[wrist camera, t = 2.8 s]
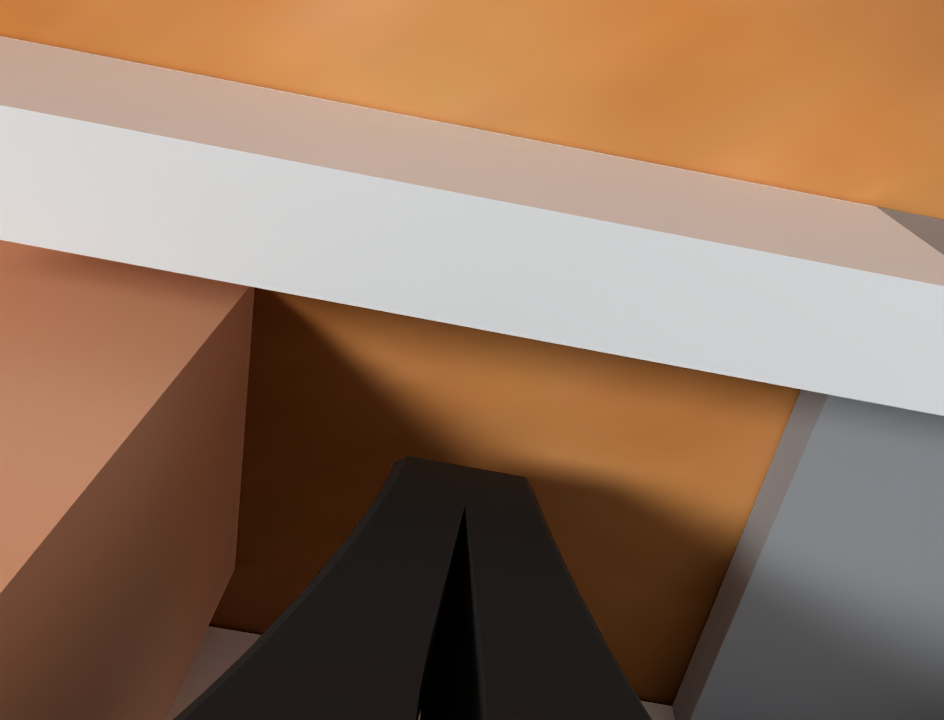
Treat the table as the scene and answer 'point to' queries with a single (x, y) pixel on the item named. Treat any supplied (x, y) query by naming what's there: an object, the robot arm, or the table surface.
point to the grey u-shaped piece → (835, 570)
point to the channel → (462, 235)
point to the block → (114, 478)
